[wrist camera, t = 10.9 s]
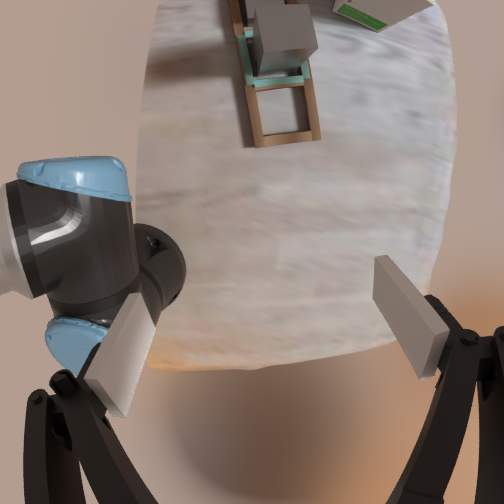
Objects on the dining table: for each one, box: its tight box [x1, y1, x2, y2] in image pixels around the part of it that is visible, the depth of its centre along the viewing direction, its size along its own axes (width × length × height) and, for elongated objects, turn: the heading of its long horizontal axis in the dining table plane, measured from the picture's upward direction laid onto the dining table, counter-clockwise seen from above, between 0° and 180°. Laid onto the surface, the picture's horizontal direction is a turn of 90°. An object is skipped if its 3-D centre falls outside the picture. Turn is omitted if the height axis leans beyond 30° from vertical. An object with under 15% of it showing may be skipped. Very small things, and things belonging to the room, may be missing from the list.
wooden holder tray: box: [228, 0, 321, 148], centre depth 33 cm, size 9×25×2 cm, turn 9°
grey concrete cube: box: [244, 0, 285, 27], centre depth 29 cm, size 5×5×4 cm
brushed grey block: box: [252, 4, 318, 77], centre depth 27 cm, size 5×5×15 cm
